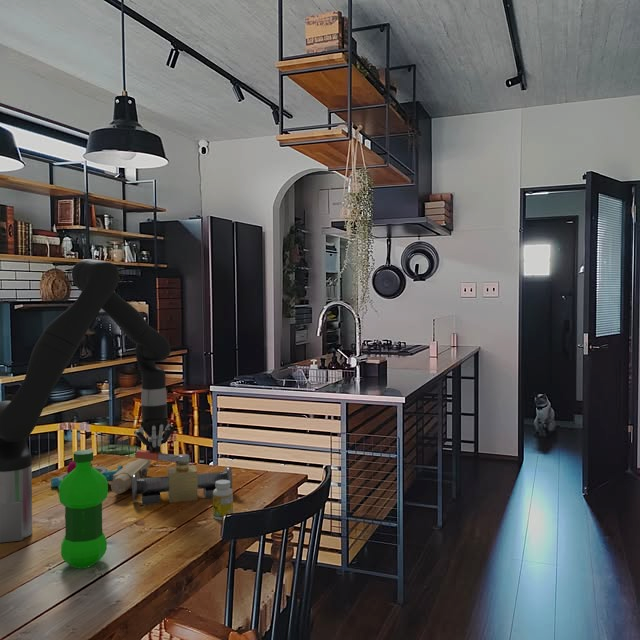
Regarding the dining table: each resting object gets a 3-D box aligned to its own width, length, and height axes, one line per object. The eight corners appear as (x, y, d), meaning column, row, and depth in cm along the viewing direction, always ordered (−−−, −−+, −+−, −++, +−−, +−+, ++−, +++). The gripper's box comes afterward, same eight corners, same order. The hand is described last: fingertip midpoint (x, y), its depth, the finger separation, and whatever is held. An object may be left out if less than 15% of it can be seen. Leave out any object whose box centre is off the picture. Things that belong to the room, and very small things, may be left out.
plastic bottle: (67, 554, 141) (66, 446, 140) (114, 553, 141) (113, 446, 141) (51, 574, 131) (50, 458, 130) (102, 572, 131) (101, 457, 131)
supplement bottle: (235, 518, 164) (235, 483, 164) (215, 521, 162) (215, 485, 162) (229, 512, 169) (229, 477, 169) (210, 514, 167) (210, 480, 167)
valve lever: (192, 461, 182) (192, 454, 182) (184, 465, 178) (184, 458, 178) (141, 455, 188) (141, 449, 188) (133, 458, 184) (133, 452, 184)
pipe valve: (228, 489, 189) (228, 457, 188) (232, 496, 182) (232, 463, 182) (132, 498, 180) (132, 464, 179) (132, 506, 173) (132, 471, 173)
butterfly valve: (33, 508, 179) (134, 498, 178) (30, 485, 178) (131, 475, 178) (72, 481, 205) (160, 472, 205) (69, 461, 205) (157, 452, 204)
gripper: (139, 407, 180) (140, 465, 181) (179, 401, 189) (180, 456, 190) (128, 403, 186) (129, 460, 187) (167, 398, 194) (169, 452, 195)
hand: (155, 458), depth 188 cm, fingers closed
